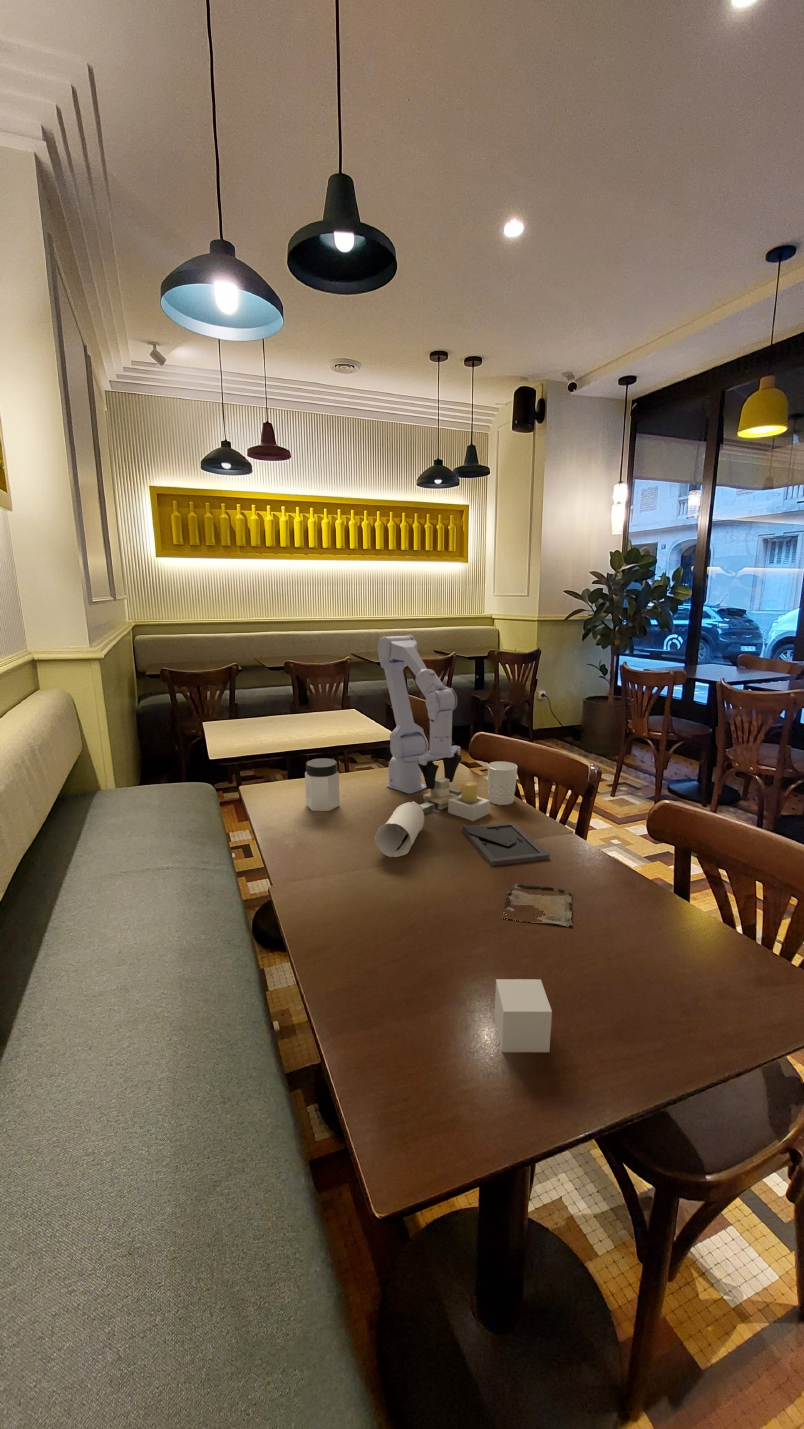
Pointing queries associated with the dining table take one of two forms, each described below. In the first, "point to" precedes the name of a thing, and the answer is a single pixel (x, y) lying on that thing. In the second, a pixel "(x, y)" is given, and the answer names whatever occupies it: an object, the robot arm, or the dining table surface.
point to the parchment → (543, 904)
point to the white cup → (501, 782)
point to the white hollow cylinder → (400, 829)
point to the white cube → (522, 1015)
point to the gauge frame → (469, 808)
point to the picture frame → (504, 843)
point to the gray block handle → (432, 805)
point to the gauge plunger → (469, 791)
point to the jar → (322, 784)
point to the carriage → (439, 793)
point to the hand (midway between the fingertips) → (439, 784)
